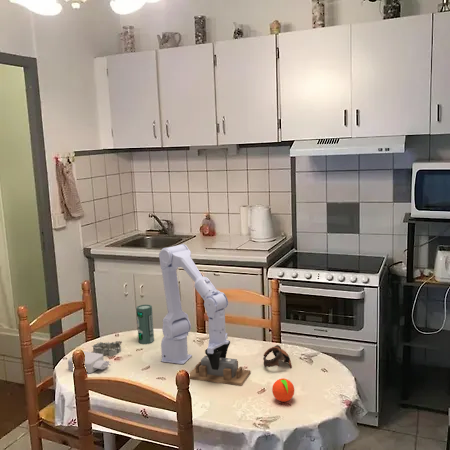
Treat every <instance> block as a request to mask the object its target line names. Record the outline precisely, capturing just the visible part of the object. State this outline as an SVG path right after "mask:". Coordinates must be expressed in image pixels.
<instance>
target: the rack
mask: <svg viewBox="0 0 450 450" xmlns="http://www.w3.org/2000/svg"><path fill="white" fill-rule="evenodd" d="M251 373H252V372H251V370H249V369H243V366H239V360H237V371H236V375H235V377H234V378H232V374H231V369H228V368H224V370H223V376H216V375H208V374H207V366H204V365H201V361H199V362H198V363H197V364H196V365H195V367H194V368H193V369H192V370H191V371H190V372H189V373H188V374H190V379H189V380H195V381H203V382H211V383H217V384H223V385H224V384H225V385H226V384H227V385H232V386H238V387H242V386H243V385H244V383H245V382H246V381H247V379H248V378H249V376H250V375H251Z"/></svg>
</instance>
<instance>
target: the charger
mask: <svg viewBox="0 0 450 450" xmlns="http://www.w3.org/2000/svg"><path fill="white" fill-rule="evenodd" d="M82 351H83V352H84V354H85V367H86V370H87V372H88V373H87V375H90V374H92V373H94V372H95V371H97V370H105V369H106V368H109V366H111V365H112V364H111V363H110V361H108V360H105V359H104V355H103V354H99V353H94V351H93V352H91V351H85V350H82ZM72 357H73V356H71V357H69V358H68V360H67V365H68V367H67V368H68V371H73V368H74V367H73V363H72ZM73 372H74V371H73Z"/></svg>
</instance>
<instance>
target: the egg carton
mask: <svg viewBox="0 0 450 450" xmlns="http://www.w3.org/2000/svg"><path fill="white" fill-rule="evenodd" d="M122 343H123V342H122V341H120V340H115V342H114V341H112V342H109V341H107V342H102V341H100V342H97V343H95V344H94V343H93V345H91V347H92V349H93V353H99V354H103V356H107V355H108V356H109V357H113V356H116V355H118V353H121V352H122Z"/></svg>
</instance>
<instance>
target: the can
mask: <svg viewBox="0 0 450 450" xmlns="http://www.w3.org/2000/svg"><path fill="white" fill-rule="evenodd" d="M135 311H136V321H137V338H138V339H137V340H138V343H139V344H140V345H150V344H152V343H154V342H155V334H154V319H153V318H154V316H153V306H152V305H151V304H140V305H137V306H136V307H135Z"/></svg>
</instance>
